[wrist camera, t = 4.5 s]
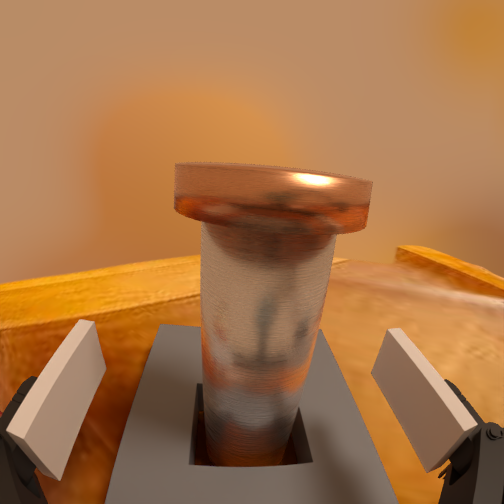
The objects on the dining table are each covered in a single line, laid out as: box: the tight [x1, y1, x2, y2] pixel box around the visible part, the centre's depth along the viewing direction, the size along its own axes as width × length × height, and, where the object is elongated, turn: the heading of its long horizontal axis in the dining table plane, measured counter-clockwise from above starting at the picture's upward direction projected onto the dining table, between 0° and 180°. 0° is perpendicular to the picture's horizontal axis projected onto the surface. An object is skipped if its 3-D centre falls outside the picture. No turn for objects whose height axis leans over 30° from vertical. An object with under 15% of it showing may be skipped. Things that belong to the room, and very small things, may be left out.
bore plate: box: [105, 324, 399, 504], centre depth 15 cm, size 14×20×3 cm
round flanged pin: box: [174, 162, 373, 467], centre depth 13 cm, size 7×7×16 cm
